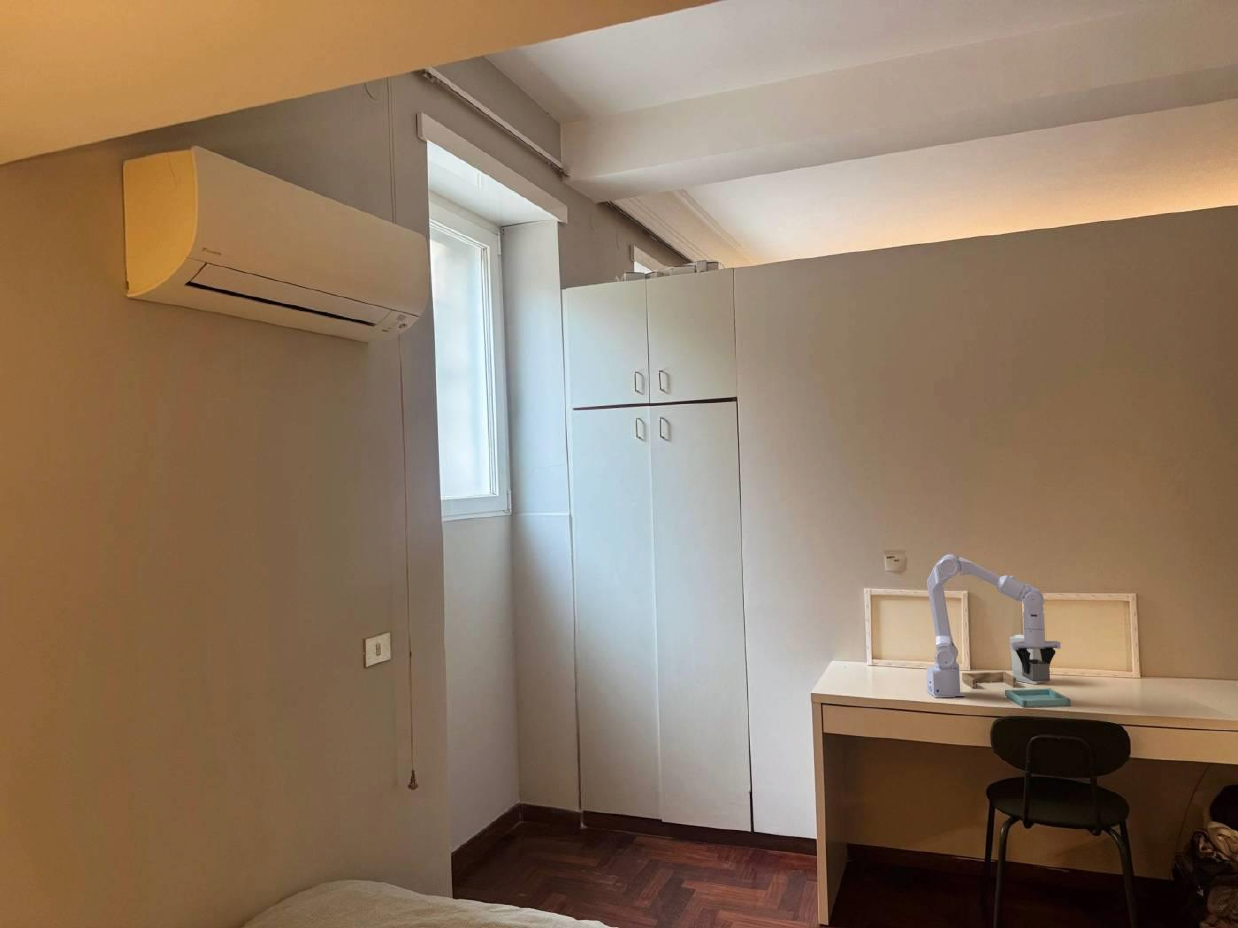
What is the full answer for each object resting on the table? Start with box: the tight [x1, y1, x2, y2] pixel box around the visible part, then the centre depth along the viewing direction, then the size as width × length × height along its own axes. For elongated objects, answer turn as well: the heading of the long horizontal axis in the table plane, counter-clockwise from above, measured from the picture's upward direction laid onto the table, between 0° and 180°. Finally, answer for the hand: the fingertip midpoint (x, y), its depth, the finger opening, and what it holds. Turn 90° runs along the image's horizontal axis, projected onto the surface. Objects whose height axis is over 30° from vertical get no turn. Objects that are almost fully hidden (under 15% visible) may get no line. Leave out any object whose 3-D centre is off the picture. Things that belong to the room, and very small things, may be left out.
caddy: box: [1022, 659, 1051, 682], centre depth 253 cm, size 5×7×5 cm
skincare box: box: [1009, 633, 1046, 685], centre depth 275 cm, size 8×6×15 cm
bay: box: [961, 671, 1017, 689], centre depth 273 cm, size 14×8×3 cm, turn 89°
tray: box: [1004, 687, 1072, 708], centre depth 253 cm, size 14×12×2 cm
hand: (1036, 672), depth 253 cm, fingers closed on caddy, 5 cm apart
